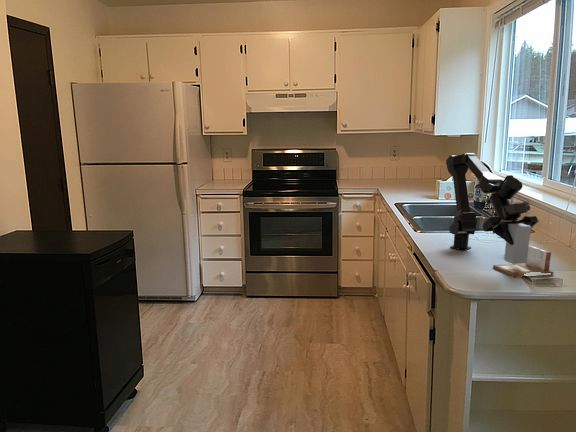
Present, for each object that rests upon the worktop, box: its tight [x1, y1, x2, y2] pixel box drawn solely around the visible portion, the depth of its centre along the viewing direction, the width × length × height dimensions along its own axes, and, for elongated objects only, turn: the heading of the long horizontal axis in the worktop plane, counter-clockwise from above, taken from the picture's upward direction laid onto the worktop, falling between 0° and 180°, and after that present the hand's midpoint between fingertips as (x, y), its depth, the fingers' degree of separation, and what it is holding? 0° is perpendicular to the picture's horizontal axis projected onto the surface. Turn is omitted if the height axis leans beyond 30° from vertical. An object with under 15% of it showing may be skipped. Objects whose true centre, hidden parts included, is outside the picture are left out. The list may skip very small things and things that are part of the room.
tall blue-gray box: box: [503, 224, 532, 264], centre depth 162 cm, size 4×6×13 cm
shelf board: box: [492, 245, 555, 279], centre depth 164 cm, size 16×11×8 cm
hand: (520, 244), depth 161 cm, fingers closed on tall blue-gray box, 5 cm apart
